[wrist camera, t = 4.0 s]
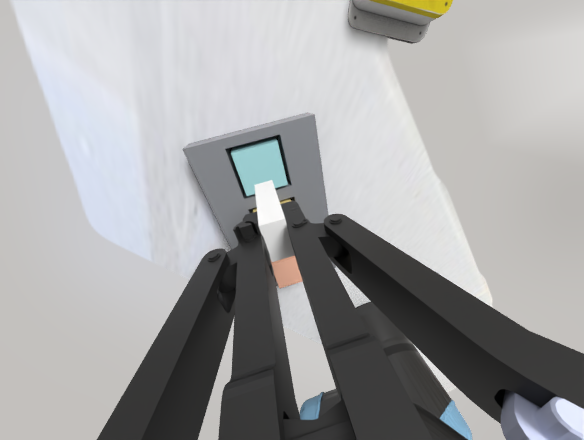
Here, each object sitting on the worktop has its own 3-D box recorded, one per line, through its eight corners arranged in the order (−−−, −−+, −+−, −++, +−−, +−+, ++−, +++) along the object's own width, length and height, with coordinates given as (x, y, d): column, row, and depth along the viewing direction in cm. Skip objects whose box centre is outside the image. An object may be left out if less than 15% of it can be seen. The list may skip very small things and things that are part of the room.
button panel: (329, 255, 36) (335, 267, 34) (252, 279, 36) (252, 293, 33) (307, 112, 24) (314, 114, 22) (189, 143, 23) (182, 149, 21)
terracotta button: (306, 264, 34) (311, 278, 31) (276, 273, 33) (279, 288, 31) (300, 241, 31) (305, 254, 28) (268, 251, 31) (270, 264, 28)
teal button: (283, 176, 27) (287, 184, 24) (246, 186, 27) (246, 196, 24) (274, 136, 24) (277, 141, 22) (232, 147, 24) (231, 153, 21)
